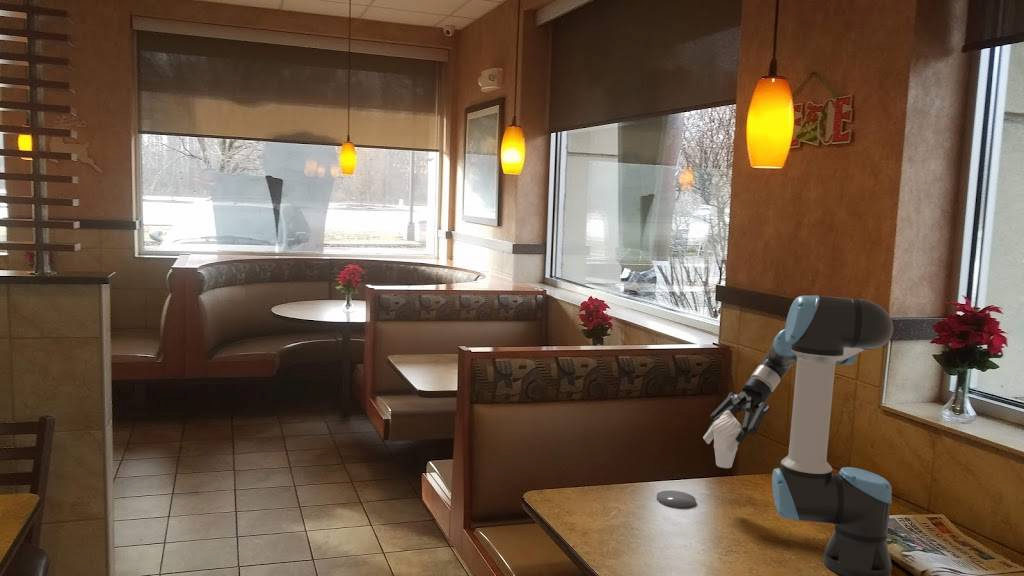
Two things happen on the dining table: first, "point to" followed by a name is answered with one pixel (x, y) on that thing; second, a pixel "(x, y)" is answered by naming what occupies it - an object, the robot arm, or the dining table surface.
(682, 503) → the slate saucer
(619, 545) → the dining table surface
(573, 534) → the dining table surface
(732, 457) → the soft serve ice cream cone
